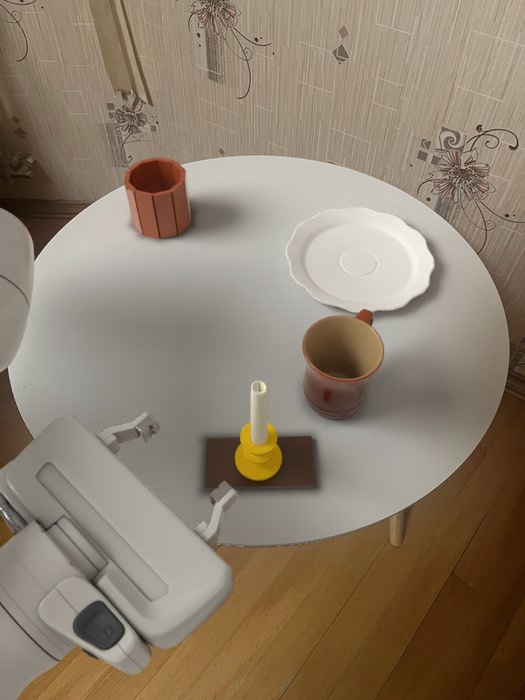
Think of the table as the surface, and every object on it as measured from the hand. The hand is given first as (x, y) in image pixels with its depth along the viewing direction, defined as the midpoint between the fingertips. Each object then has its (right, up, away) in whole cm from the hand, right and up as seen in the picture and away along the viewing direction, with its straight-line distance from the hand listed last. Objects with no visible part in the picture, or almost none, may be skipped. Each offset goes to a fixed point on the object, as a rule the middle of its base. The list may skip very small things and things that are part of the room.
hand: (191, 452), depth 47 cm
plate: (+20, +21, +35) cm, 45 cm away
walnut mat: (+6, -4, +16) cm, 17 cm away
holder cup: (-9, +29, +40) cm, 50 cm away
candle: (+5, -4, +16) cm, 17 cm away
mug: (+15, +4, +22) cm, 27 cm away
